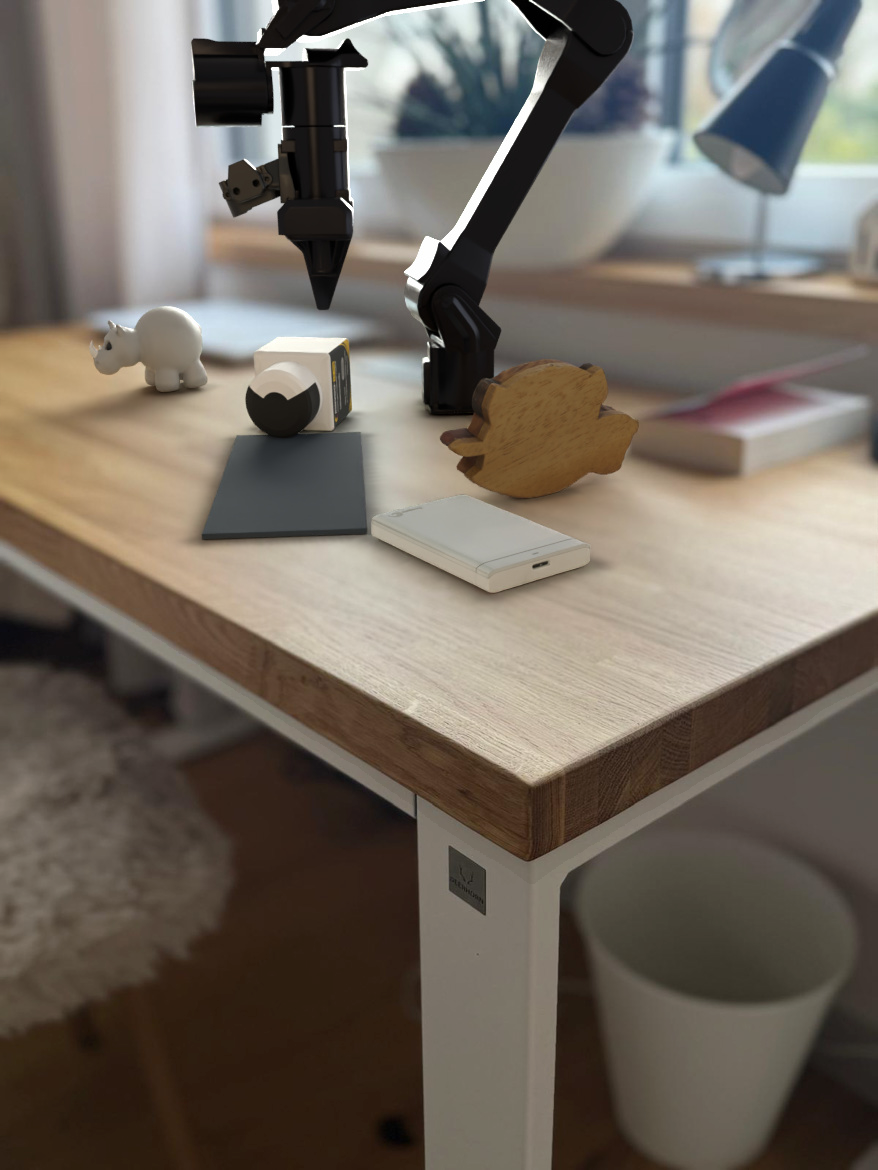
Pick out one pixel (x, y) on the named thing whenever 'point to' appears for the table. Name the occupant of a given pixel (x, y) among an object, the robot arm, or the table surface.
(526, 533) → the hard drive
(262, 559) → the table surface
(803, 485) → the table surface
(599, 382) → the wooden carving
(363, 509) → the slate mat
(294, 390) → the medicine bottle
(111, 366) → the chubby cartoon animal
